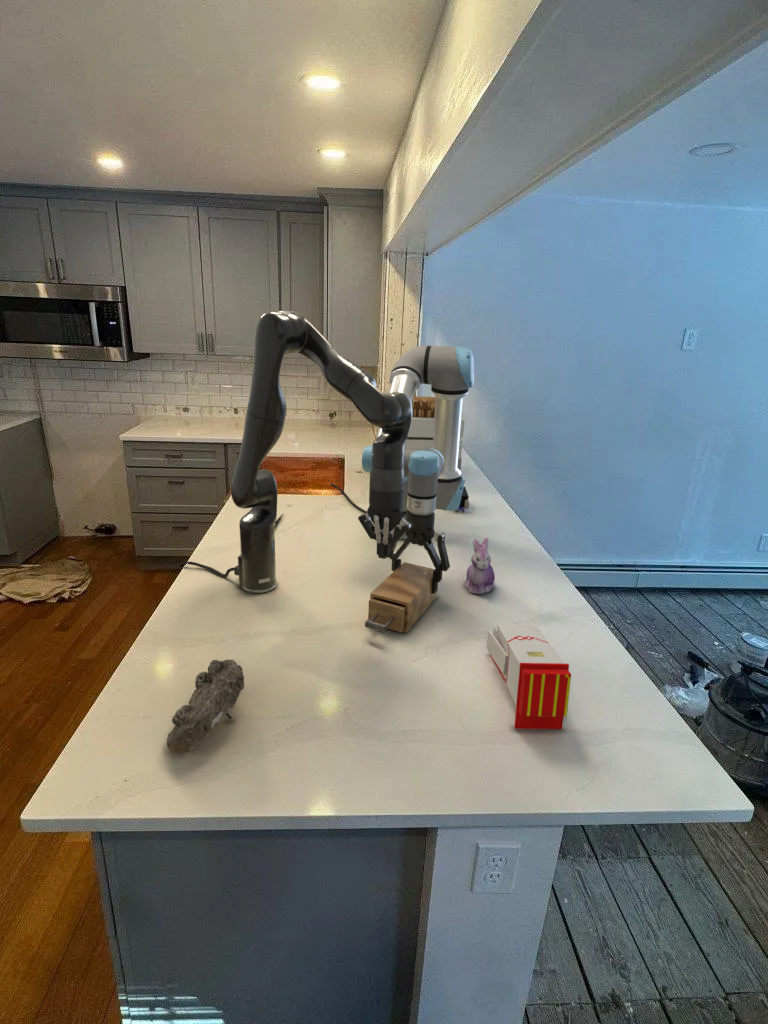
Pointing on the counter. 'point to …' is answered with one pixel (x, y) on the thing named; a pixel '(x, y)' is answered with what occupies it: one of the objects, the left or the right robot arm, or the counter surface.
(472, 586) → the figurine
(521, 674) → the toy
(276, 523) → the feather
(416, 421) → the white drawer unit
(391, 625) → the drawer
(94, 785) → the counter surface
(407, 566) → the cabinet
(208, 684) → the fossil
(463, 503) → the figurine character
